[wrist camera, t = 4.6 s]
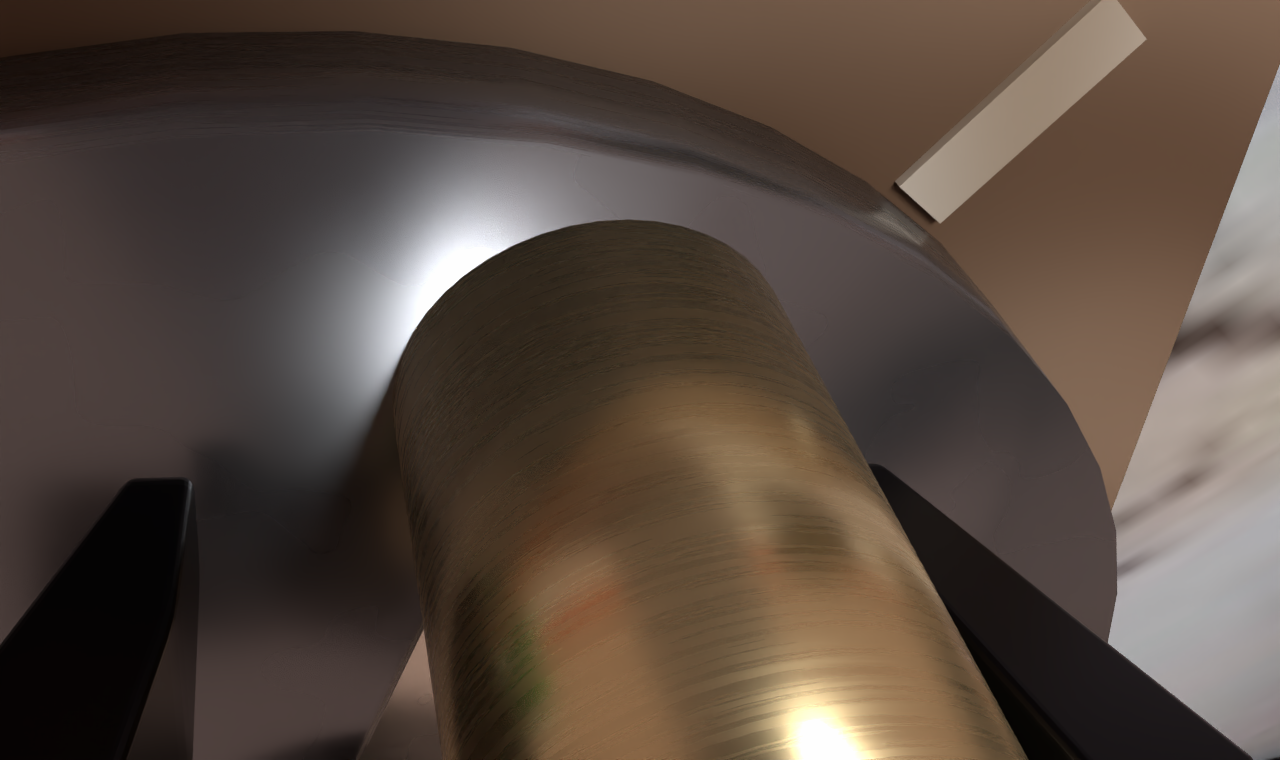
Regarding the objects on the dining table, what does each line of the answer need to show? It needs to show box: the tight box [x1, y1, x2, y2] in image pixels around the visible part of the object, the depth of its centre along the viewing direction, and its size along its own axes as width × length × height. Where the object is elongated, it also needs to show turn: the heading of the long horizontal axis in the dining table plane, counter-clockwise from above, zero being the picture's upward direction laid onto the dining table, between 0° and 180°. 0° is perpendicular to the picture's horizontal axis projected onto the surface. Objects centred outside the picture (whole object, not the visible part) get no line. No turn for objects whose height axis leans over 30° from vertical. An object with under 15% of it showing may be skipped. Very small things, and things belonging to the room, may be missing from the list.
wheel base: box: [0, 0, 1280, 510], centre depth 16 cm, size 20×20×3 cm
